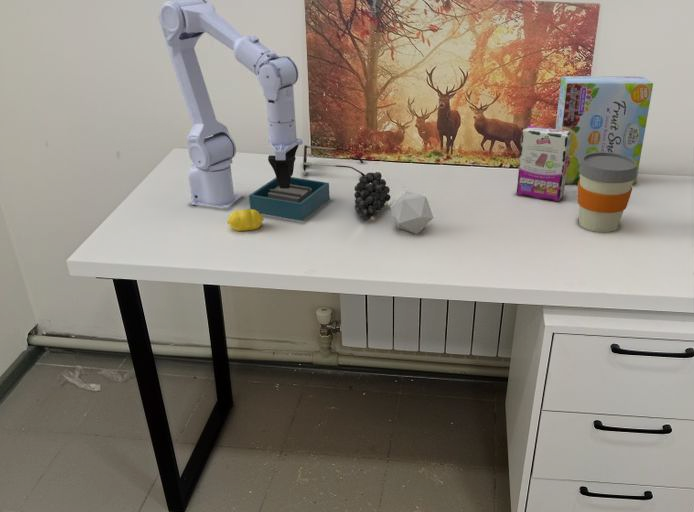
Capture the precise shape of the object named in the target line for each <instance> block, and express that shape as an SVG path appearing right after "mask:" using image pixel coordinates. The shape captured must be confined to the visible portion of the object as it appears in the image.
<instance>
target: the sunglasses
mask: <svg viewBox="0 0 694 512" xmlns="http://www.w3.org/2000/svg"><path fill="white" fill-rule="evenodd" d="M308 149H319V150H320V149H321V150H334V151H344V152H347V153H350V154H352V155H353V156H354V157H356V158H357V159H358V161H359V162H360V163H361V164H363V163H364V161H363V159H362V158H361V157H359V156H358V155H357V154H356V153H354V152H353V151H351V150H350V149H345V148H335V147H320V146H313V145H306V144H304V147H303V161H302V164H303V166H302V167H303V168H302V169H303V170H302V171H303V172H304V173H303V174H304V176H306V171H307V166H321V167H322V166H323V167H335V168H347V169H352V170H353V171H355V172H357V173H359V175H361V177H362V176H365V177H366V174H365V173H364V172H362V171H360V170H359V169H356V168H355V167H353V166H350V165H339V164H326V163H325V164H324V163H323V164H322V163H313V162H307V160H308V158H307V154H308Z"/></svg>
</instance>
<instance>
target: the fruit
mask: <svg viewBox="0 0 694 512" xmlns="http://www.w3.org/2000/svg"><path fill="white" fill-rule="evenodd" d="M382 177H383V175H382V173H381V172H380V171H376V172H367V173H366V174H365V176H362V175H361V176H360V177H359V180H358V181H359V182H357V183H356V185H355V186H354V191H355V192H354V198H355V199H354V204H355V205H354V210H355V213H356V214H358V216H359V217H360V218H362V219H363V220H364V221H370V220H371V218H372V216H375V217H376V216H377V215H378V212H379V211H381V210H382V209H383V208H385V205H386V203H387V202H389V201H390V200H391V195H390V191H391V189H390V187H389V186H388V185H387V181H386V180H385V179H384V178H382Z"/></svg>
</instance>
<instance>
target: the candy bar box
mask: <svg viewBox="0 0 694 512" xmlns="http://www.w3.org/2000/svg"><path fill="white" fill-rule="evenodd" d="M571 132H572V131H566V130H559V129H555V128H549V127H543V126H535V125H534V126H533V125H527V126H526V127H525V128H523V130H522V133H521V142H520V143H521V144H520V152H519V153H520V155H519V163H518V164H519V165H518V166H519V167H518V175H517V185H516V195H517V196H522V197H527V198H535V199H539V200H546V201H554V202H560V201H561V199H562V198H563V197H564V195H565V185H566V184H565V179H566V171H567V163H568V155H569V148H570V140H571Z"/></svg>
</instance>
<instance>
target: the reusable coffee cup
mask: <svg viewBox="0 0 694 512" xmlns="http://www.w3.org/2000/svg"><path fill="white" fill-rule="evenodd" d="M636 171H637V162H636V161H635V160H634V159H632V158H630V157H628V156H625V155H621V154H616V153H609V152H595V153H589V154H586V155H584V156H583V157H582V160H581V164H580V167H579V173H580V181H579V182H578V183H577V204H578V208H579V209H578V224H579V225H580V226H581V228H583V229H585V230H588V231H592V232H596V233H611V232H615V231H616V230H617V229H618V228H619V225H620V222H621V219H622V216H623V213H624V211H625V210H626V209H627V207H628V203H629V201H630V198H631V194H632V191H633V184H634V183H633V180H634V179H635V178H636Z"/></svg>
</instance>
